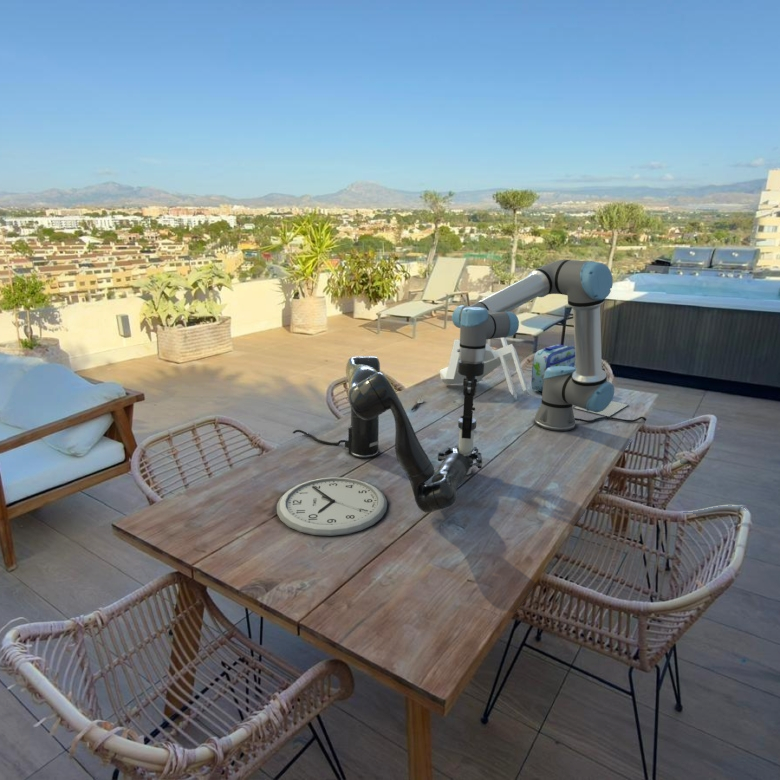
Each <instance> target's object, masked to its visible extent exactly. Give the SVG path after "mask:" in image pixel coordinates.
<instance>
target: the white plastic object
mask: <svg viewBox="0 0 780 780" xmlns="http://www.w3.org/2000/svg"><path fill="white" fill-rule="evenodd" d="M500 342H501V345H502V347H500V348H498V349H496V350H495V349H493V348H492V347H491V346H490V344H489V343H488V342H486V349H485V360H484V361H483V362H484V373H483V375H481V376H475V379H477V383H480V382H482V381H484V378H485V377H486V376H487V375H489V374H490V373H492V372H494V371H495V370H496V369H497V368H499V367H500V366H502V370H503V373H504V376H505V380H506V383H507V386H508V390H509V393H510V394H511V395H512V397H513V398H514V399H515V400H517V392H516V391H517V390H516V388H515V385H514V381H513V378H512V375H511V371H510V369H509V365H508V361H510V360H513V363H514V366H515V369H516V372H517V376H518V380H519V382H520V385H521V389H522V391H523V393H524V395H525V396H526V397H528V396H531V395H530V390H529V388H528V387H529V386H528V384H527V381H526V378H525V375H524V371H523V369H522V368H523V367H522V366H521V362H520V359H519V355H518V352H517V349H516V347H515V346H514V345H513V343H511V344H508V341H507V337H506V338H504V337H503V338H500ZM457 349H460V338H459V339H458V338H454V340H453V344H452V349H451V353H450V357H449V362H448V366H446V367H444V368H442V369H440V370H439V371H438V372H439V376H440V381H442V383H443V384H444V385H445V386H449V385H458V384H463V380H464V378H466V376H465V375H461V374H459V373H458V362H459V361H460V359H459V353H460V352H457Z"/></svg>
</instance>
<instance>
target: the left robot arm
mask: <svg viewBox="0 0 780 780" xmlns="http://www.w3.org/2000/svg"><path fill="white" fill-rule="evenodd" d="M345 376H346V380H347V383H348V389H347V390H348V391H347V398H348V399H347V400H348V403H349V405H350V425H349V426H348V427H347V429H348V431H347V432H348V437H347V438H345V439H340V440H338V442H331V441H325V440H323V439H322V440H321V439H318V438H317V437H315V436H314V435H312V434H311V433H308V432H306V431H304V430H301V429H294V431H292V434H296V433H301V434H303V435H305V436H307V437H309V438H312V439H313V440H314V441H316V442H317V443H321V444H324V445H329V446H340V444H341V443H344V448H347V449H348V454H349V455H352V456H353V457H355V458H359V459H369V458H370V459H371V458H374V457H376V456H378V455H379V444H380V440H379V434H380V433H379V432H380V431H379V430H380V429H379V427H380V426H379V425H380V424H379V421H380V419H379V417H380V415H382V414H384V413H385V412H387V411H389V410H390V411H391V413H392V415H393V419H394V423H395V439H394V449H395V450H394V451H395V457H396V459H397V462H398V463H399V465H400V467H401V468H402V471H403V472H404V473H405V475H406V477H407V478H408V480H409V484H410V486H411V489H412V492H413V496H414V501H415V505H416V506H417V508H418V509H419V510H420V511H422V512H423V513H426V514H429V513H434V512H437V511H441V510H445V509H447V508H450V507H452V506H453V505H455V504H456V502H457V496H458V495H457V492H458V487H459V485H460V484H462V482H463V481H464V479H465V478H466V476H467V475H468V474H467V472H468V470H469V468H471V467H472V468H473V466H475V467H477V469H483V456H482V452H479V449H478V447H477V446H473V450H472V452H467V453H466V454H460V453H458V450H459V443H458V444H456V445H455V446H454V447H452V448H451V447H446V448H444V449H442V450H441V451H438V452H437V461H438V462H441V464H440V465H439V467H438V468H437V471H436V472H435V467H434V465H433V462H432V461H431V460H430V458H429V456H428V454H427V453H426V451H425V450H424V448H423V446H422V444H421V442H420V441H419V438H418V437H417V434H416V432H415V429H414V428H413V426H412V425H413V424H412V422H411V421H410V418H409V416H408V414H407V412H406V409H405V407H404V406H403V403H402V402H401V399H400V397H399V395H398V394H397V391H396V389H395V388H394V385H392V382H391V381H390V380H389V378H388V377H387V376H386V375H385V374H384V373H382V372H381V363H380V360H379V358H378V357H377V356H372V355H371V356H370V355H369V356H351V357H350V358H349V359H348V360H347V362H346V365H345ZM307 433H308V434H307ZM472 468H471V469H472ZM466 474H467V475H466ZM430 479H431V483H428V484H427V482H428V481H429V480H430Z"/></svg>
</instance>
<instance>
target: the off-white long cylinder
mask: <svg viewBox="0 0 780 780" xmlns="http://www.w3.org/2000/svg"><path fill="white" fill-rule="evenodd" d="M474 436H475V429H474V430H471V439H467V438H462V429H460V428H459V435H458V444H459V450H458V453H460V454H466V453H467V452H472V450H473V448H474V439H475V437H474ZM472 468H473V466H472V467H471V468H469V470H468V472H467V474H466V476H468V475H470V474H471V473H472Z"/></svg>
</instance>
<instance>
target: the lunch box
mask: <svg viewBox="0 0 780 780" xmlns="http://www.w3.org/2000/svg"><path fill="white" fill-rule="evenodd" d="M555 366H570V367H575V366H576V359H575V346H569V345H565V344H554V345H550V346H547V347H544V348H542V349H541V348H540V349H539V350H537V351H536V352H535V353H534V356H533V360H532V367H531V368H532V369H531V382H530V383H531V386H530V387H531V389H532V390H533V391H537V392H542V391H543V380H544V379H543V378H544V375H545V370H546V369H547V368H549V367H555Z"/></svg>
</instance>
